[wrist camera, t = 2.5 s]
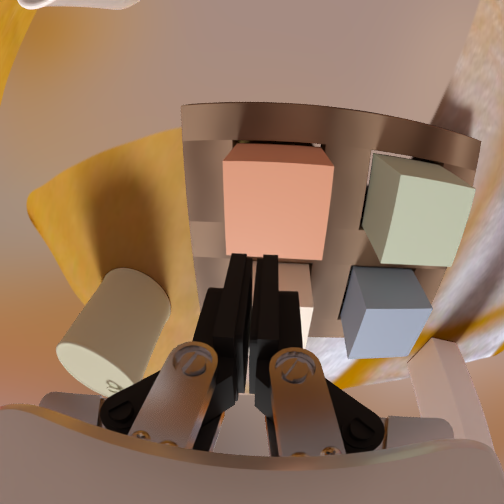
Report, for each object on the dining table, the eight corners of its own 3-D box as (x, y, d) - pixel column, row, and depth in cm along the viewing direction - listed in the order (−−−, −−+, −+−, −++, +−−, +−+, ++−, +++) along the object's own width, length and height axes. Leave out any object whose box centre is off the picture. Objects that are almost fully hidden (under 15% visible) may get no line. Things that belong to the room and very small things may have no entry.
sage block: (438, 164, 18) (475, 188, 14) (423, 230, 21) (451, 266, 17) (373, 153, 19) (400, 174, 14) (361, 225, 22) (380, 263, 17)
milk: (431, 336, 31) (476, 485, 13) (456, 342, 32) (500, 473, 13) (405, 364, 34) (434, 503, 16) (431, 367, 35) (463, 492, 16)
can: (150, 335, 35) (119, 410, 25) (94, 295, 33) (49, 365, 23) (185, 301, 31) (151, 392, 21) (118, 252, 29) (59, 331, 18)
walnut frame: (465, 135, 18) (481, 141, 16) (409, 320, 30) (415, 335, 28) (191, 104, 20) (180, 105, 18) (208, 313, 32) (203, 329, 30)
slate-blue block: (411, 268, 24) (432, 308, 19) (393, 315, 27) (407, 356, 22) (353, 266, 24) (366, 308, 19) (340, 315, 27) (347, 358, 23)
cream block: (308, 263, 24) (313, 307, 20) (301, 314, 28) (302, 358, 23) (239, 260, 25) (228, 302, 20) (240, 310, 28) (232, 354, 23)
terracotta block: (320, 147, 19) (334, 166, 14) (313, 221, 22) (321, 260, 18) (237, 143, 20) (222, 160, 15) (238, 218, 23) (226, 255, 18)
